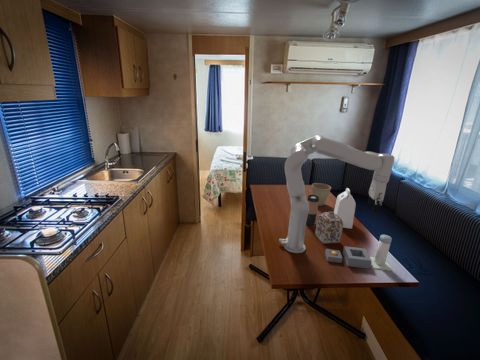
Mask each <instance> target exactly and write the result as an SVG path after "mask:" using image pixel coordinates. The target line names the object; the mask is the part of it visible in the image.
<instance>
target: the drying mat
mask: <svg viewBox="0 0 480 360" xmlns="http://www.w3.org/2000/svg"><path fill="white" fill-rule="evenodd" d="M369 257H370V259H371V266H372V268H373V269H376V270H383V271H390V272H392V271H393V269H392V267H391V266H390V264H389V263H388V261H387V260H386V262H385V265H384V266H379V265H377V264H376V263H375V262H374V261H375V256H374V257H373V256H369Z"/></svg>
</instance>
